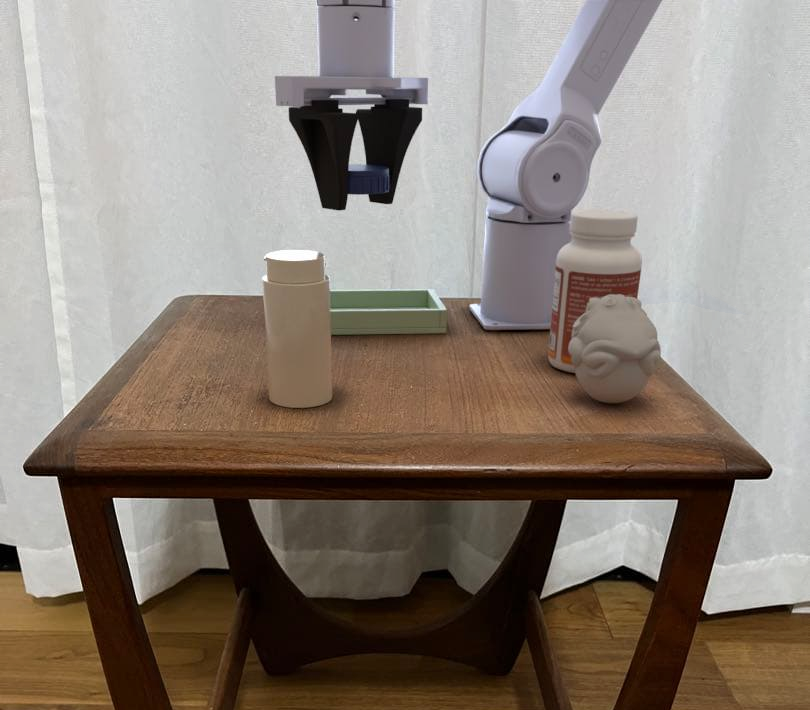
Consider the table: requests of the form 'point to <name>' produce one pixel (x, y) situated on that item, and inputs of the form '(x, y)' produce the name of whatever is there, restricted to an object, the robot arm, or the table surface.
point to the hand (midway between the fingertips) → (357, 206)
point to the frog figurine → (614, 348)
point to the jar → (297, 328)
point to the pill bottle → (591, 272)
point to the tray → (387, 312)
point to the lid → (368, 179)
